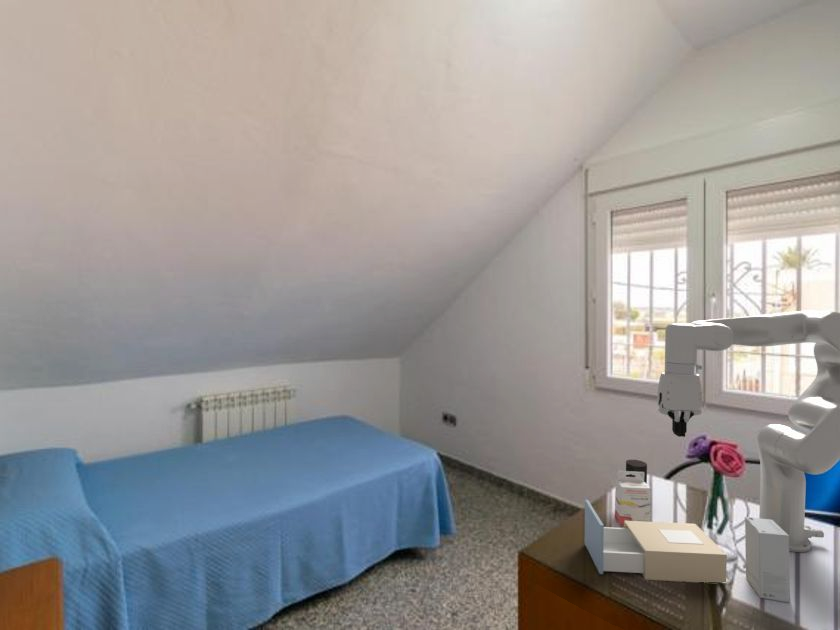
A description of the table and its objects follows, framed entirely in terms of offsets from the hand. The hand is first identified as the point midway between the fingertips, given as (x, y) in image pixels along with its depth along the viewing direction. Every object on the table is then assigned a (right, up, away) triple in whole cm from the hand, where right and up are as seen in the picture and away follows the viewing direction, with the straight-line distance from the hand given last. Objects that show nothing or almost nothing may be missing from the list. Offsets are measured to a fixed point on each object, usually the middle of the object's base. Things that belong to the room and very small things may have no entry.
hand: (679, 435), depth 120 cm
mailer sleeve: (-8, -30, -10) cm, 32 cm away
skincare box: (+8, -30, -20) cm, 37 cm away
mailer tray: (-19, -29, -9) cm, 36 cm away
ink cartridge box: (-8, -29, +10) cm, 32 cm away
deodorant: (-3, -29, +18) cm, 34 cm away
